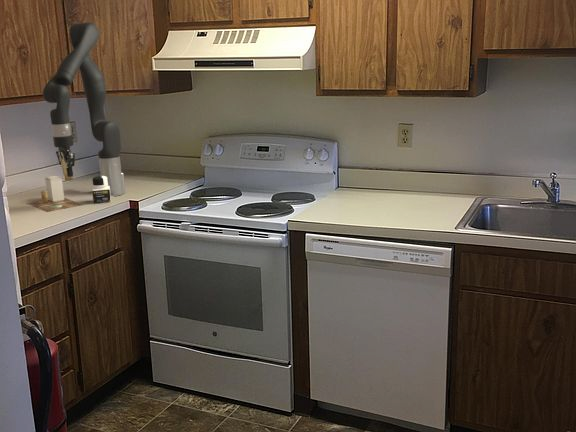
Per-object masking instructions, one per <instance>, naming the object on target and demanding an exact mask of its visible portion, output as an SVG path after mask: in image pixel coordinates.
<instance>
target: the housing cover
mask: <svg viewBox="0 0 576 432" xmlns="http://www.w3.org/2000/svg"><path fill="white" fill-rule="evenodd" d="M44 178H45V179H44V181H45V189H46V191H47V195H48V200H50V201H53V202H54V201H59V200H64V198H65V194H64V193H65V192H64V185H63V178H62V176H59V175H49V176H45V177H44Z"/></svg>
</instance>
